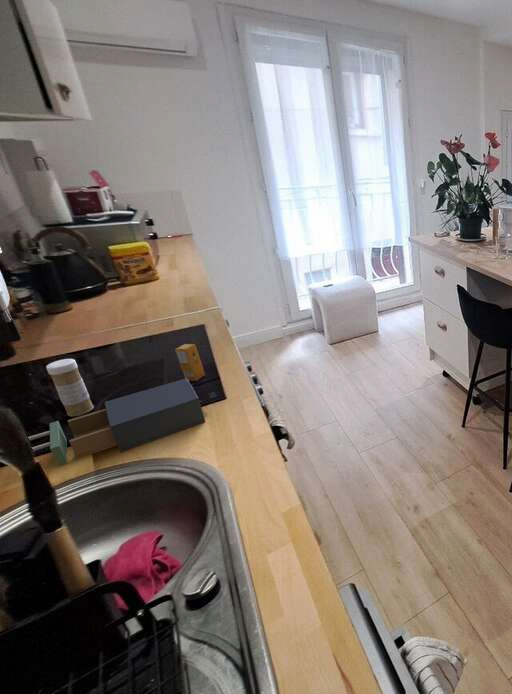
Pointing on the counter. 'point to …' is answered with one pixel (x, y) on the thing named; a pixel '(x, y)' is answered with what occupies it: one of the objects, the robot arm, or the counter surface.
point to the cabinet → (153, 413)
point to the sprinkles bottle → (70, 387)
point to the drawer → (79, 436)
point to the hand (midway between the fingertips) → (8, 341)
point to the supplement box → (190, 362)
